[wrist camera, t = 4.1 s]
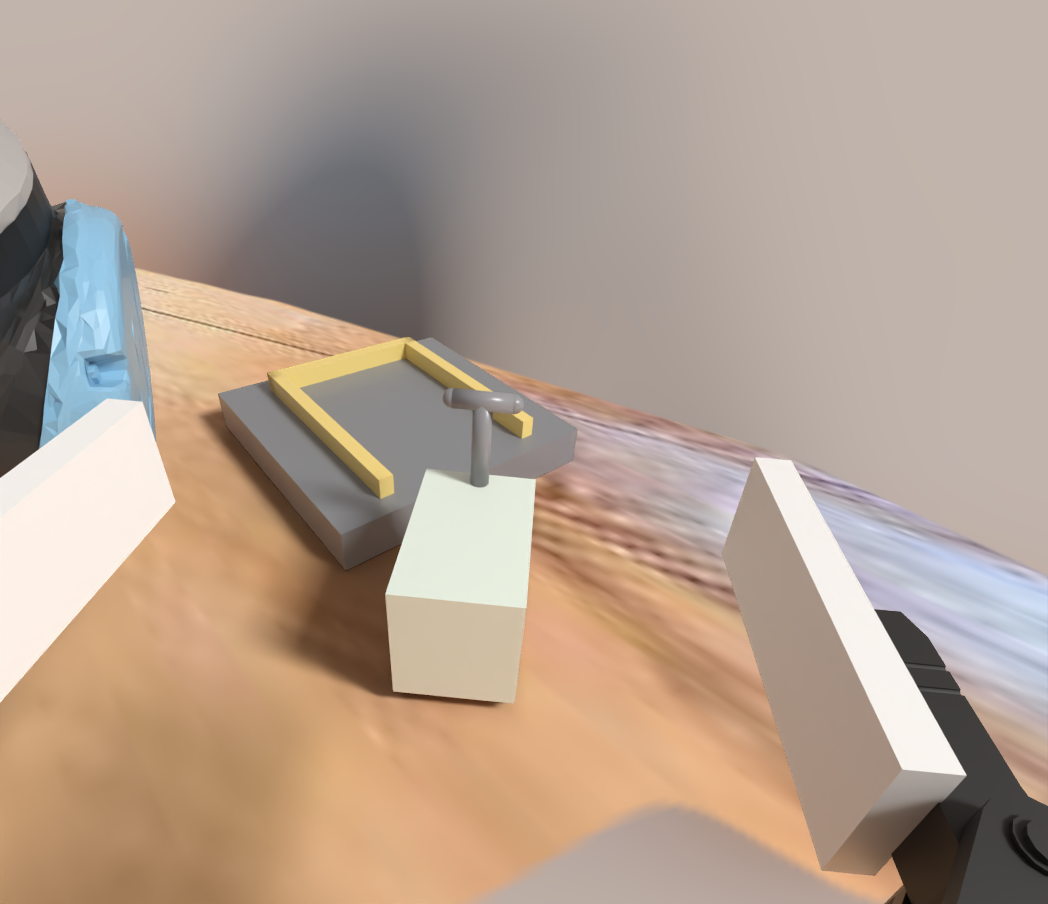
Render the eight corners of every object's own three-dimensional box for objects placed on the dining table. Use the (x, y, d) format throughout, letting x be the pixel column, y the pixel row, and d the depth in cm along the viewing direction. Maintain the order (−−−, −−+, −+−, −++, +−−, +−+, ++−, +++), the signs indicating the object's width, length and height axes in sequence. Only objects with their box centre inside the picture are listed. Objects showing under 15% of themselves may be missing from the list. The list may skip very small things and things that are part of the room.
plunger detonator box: (393, 703, 30) (377, 493, 22) (428, 571, 37) (424, 379, 29) (513, 715, 30) (538, 509, 22) (524, 580, 37) (545, 391, 29)
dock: (345, 570, 37) (338, 515, 34) (225, 426, 48) (213, 376, 46) (572, 460, 48) (579, 412, 46) (431, 365, 60) (431, 322, 57)
